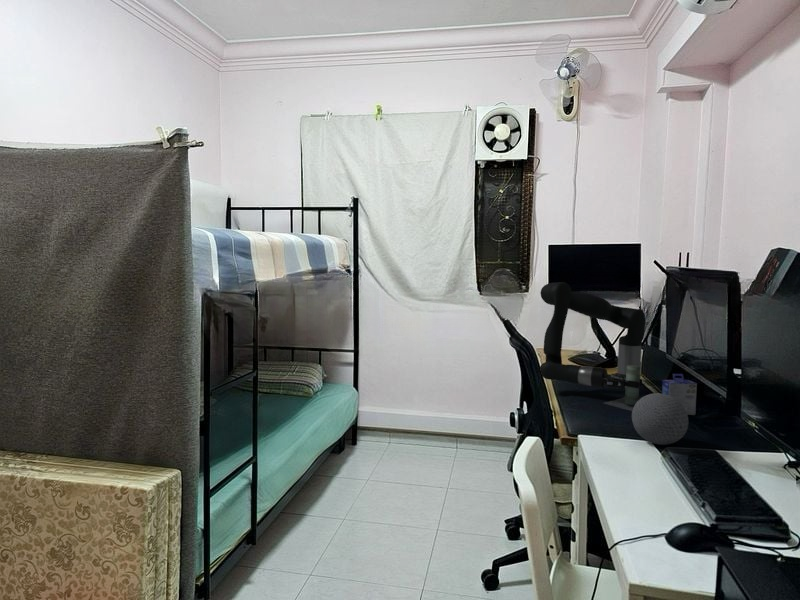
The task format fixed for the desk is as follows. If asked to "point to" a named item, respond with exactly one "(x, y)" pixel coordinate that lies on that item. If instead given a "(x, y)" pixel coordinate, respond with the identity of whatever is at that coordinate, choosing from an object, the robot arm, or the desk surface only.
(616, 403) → the tapping mat
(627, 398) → the green pillar
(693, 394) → the ink cartridge box
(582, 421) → the desk surface
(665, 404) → the decorative ball
